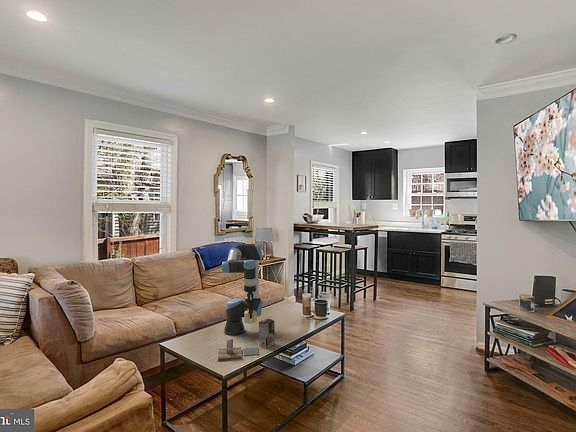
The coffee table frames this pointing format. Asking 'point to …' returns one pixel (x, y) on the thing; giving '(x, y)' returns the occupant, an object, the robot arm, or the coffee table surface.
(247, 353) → the mat
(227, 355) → the post base
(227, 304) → the robot arm
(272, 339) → the coffee box
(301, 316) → the coffee table surface
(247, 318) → the yellow lidded jar
